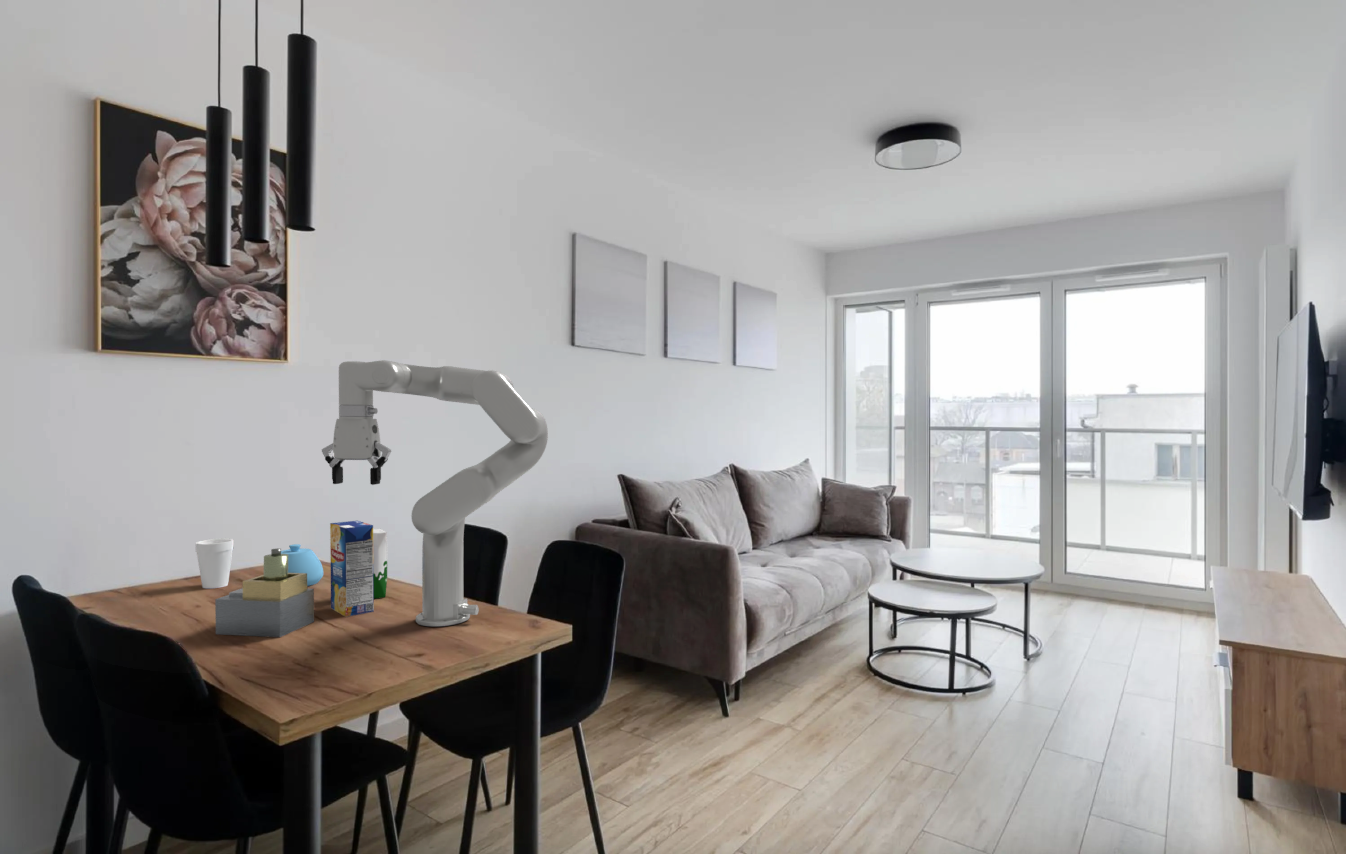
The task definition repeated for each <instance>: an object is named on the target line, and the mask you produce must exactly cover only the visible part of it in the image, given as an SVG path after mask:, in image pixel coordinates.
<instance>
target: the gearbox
mask: <svg viewBox="0 0 1346 854" xmlns="http://www.w3.org/2000/svg"><path fill="white" fill-rule="evenodd" d="M214 600H215V601H214V604H215V606H214V607H215V635H226V636H246V637H265V638H267V637H268V638H282V637H284V636H286V635H288V634H290V633H293V632H295V631H297V630H299V629H302V628H304V627H306V626H308V625H310V624H312V623H314V622H315V590H314V588H308V586H307V573H288V578H287V579H284V580H281V581H264V574H261V575H259V576H258V575H257V576H255V577H252V578H248V579H245V580H242V588H239V589H236V590H233V591H230V592H228V594H226V595H224V596H221V597H218V598H214Z"/></svg>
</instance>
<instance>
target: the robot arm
mask: <svg viewBox="0 0 1346 854" xmlns="http://www.w3.org/2000/svg"><path fill="white" fill-rule="evenodd" d="M374 391H376V392H381V393H382V392H383V393H394V394H401V395H403V394H404V395H412V396H421V397H429V398H433V399H437V400H439V401H445V402H451V403H461V404H462V403H463V404H470V405H477V406H480V407H481V409H482V410H483V411H484V413H485V414H486V415H487V416H489V418H490V420H492V421H493V422H494V424H496V426H497V427H498V428H499V429H500V431H501V432H502V433H503V434H504V435H505V436H506V437H507V439H509V440H510V441H508V443H506V444H505V445H504V446H502V447H501V448H499V449H497V450H496V451H494V452H493V453H492V454H490V456H488V457H487V458H485V459H484V460H482V461H480V462H478V463H477V464H475V465H471V466H469V467H465V468H463V469H462V470H460V471H458V472H456V473H455V474H453V475H452V476H451V477H449V478H448V479H446V480H445V481H444V482H442V483H441V484H439V485H437V486H436V487H435V488H433V489H432V490H430V491H429V492H427V493H426V494H425V495H422V496H421V498H419V499H418V500H417V501H416V502H415V504H414V505H413V507H412V510H411V515H410V516H411V522H412V525H413V526H414V528H415V529H416V530H417V531H418V532H420V533H422V536H423V537H422V550H421V551H422V554H421V555H422V556H421V560H422V562H421V564H422V565H421V566H422V568H421V569H422V570H421V571H422V572H421V575H422V576H421V577H422V578H421V580H422V581H421V582H422V583H421V584H422V586H421V587H422V590H421V591H422V592H421V593H422V598H421V599H422V607H421V608H422V609H421V610H422V612H420V613H418V614H417V615H416V616H415V623H417V625H420V626H422V627H423V626H424V627H447V626H453V625H458V624H462V623H464V622H466V621H468V620H470V617H471V615H475V616H477V615H478V614H479V612H480V611H479V610H480V609H479V606H478V604H469V603H468V598H464V537H465V536H464V535H465V533H464V532H465V523H466V522H465V521H466V518H467V517H469V516H470V515H471V514H474V512H475V511H476V510H479V509H480V508H481V507H483V506H484V505H486V504H487V503H488V502H490V501H491V500H493V498H494V497H496V495H498V494H499V493H500V492H502V491H503V490H504V489H506V488H507V487H508V486H510V485H511V484H513V483H514V482H515V481H517V480H518V479H519V478H520V477H522V476H524V475H525V474H526V473H528V472H529V471H531V469H532V468H533V467H534V466H535V465H536V464H537V463H538V462H539V461H540V459H541V458H542V457H543V455H544V452H545V450H546V448H547V444H548V441H549V440H548V439H549V436H548V424H547V421H546V418H545V417H544V415H543V414H542V413H541V412H540V411H539V410H537V409H535V408H531V407H530V406H529V405H528V404H527V403H526V402H525V400H523V398H522V397H521V396H520V394H518V393H517V391H516V390H515V389H514V383H513V381H512V380H511V378H510V377H509V376H508V375H506V374H505V373H503V372H501V371H497V370H481V369H474V368H466V367H458V366H449V365H444V366H439V367H437V366H436V367H433V366H432V367H431V366H423V365H415V364H406V363H399V362H397V361H396V362H395V361H392V360H391V361H390V360H385V359H383V360H381V359H380V360H375V361H367V362H365V361H357V360H354V361H353V360H352V361H343V362H341V363H340V364H339V366H338V418H336V420H335V421H336V422H335V425H334V430H333V442H332V443H331V444H329V445H327V446H325V447H323V448H322V449H321V453H322V455H323V457H324V460H325V461H326V462H327V463H328V464H329V467H330V468H331V480H332V484H333V485H338V484H343V483H344V468H343V466H341V465H342V464H343V463H344V462H345V461H351V460H352V461H367V462H368V463H369V464H370V466H371V467H370V468H369V469H370V474H369V477H370V479H369V481H370V483H369V484H370V485H372V486H374V485H379V484H381V480H382V468H383V467H384V465H385V464H386V462H388V459H389V457H390V455H391V452H392V449H391V448H389V447H388V446H385V445H383V444H382V443H381V434H380V429H379V423H378V420H377V418H374V416H375V415H377V414H378V408H376V407H374ZM332 453H333V455H332Z"/></svg>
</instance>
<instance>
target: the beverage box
mask: <svg viewBox="0 0 1346 854" xmlns="http://www.w3.org/2000/svg"><path fill="white" fill-rule="evenodd" d="M329 525H330V526H329V529H330V532H329V534H330V539H329V540H330V547H329V548H330V609H331V610H334V611H335V612H337V613H339V614H340V615H341V616H343V617H345V618H348V617H351V616H358V615H363V614H368V613H374V610H375V609H374V608H375V607H374V603H375V601H374V600H375V599H374V583H373V529H374V524H369V523H367V522H364V521H361V520H350V521H341V522H340V521H339V522H331V523H329Z"/></svg>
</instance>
